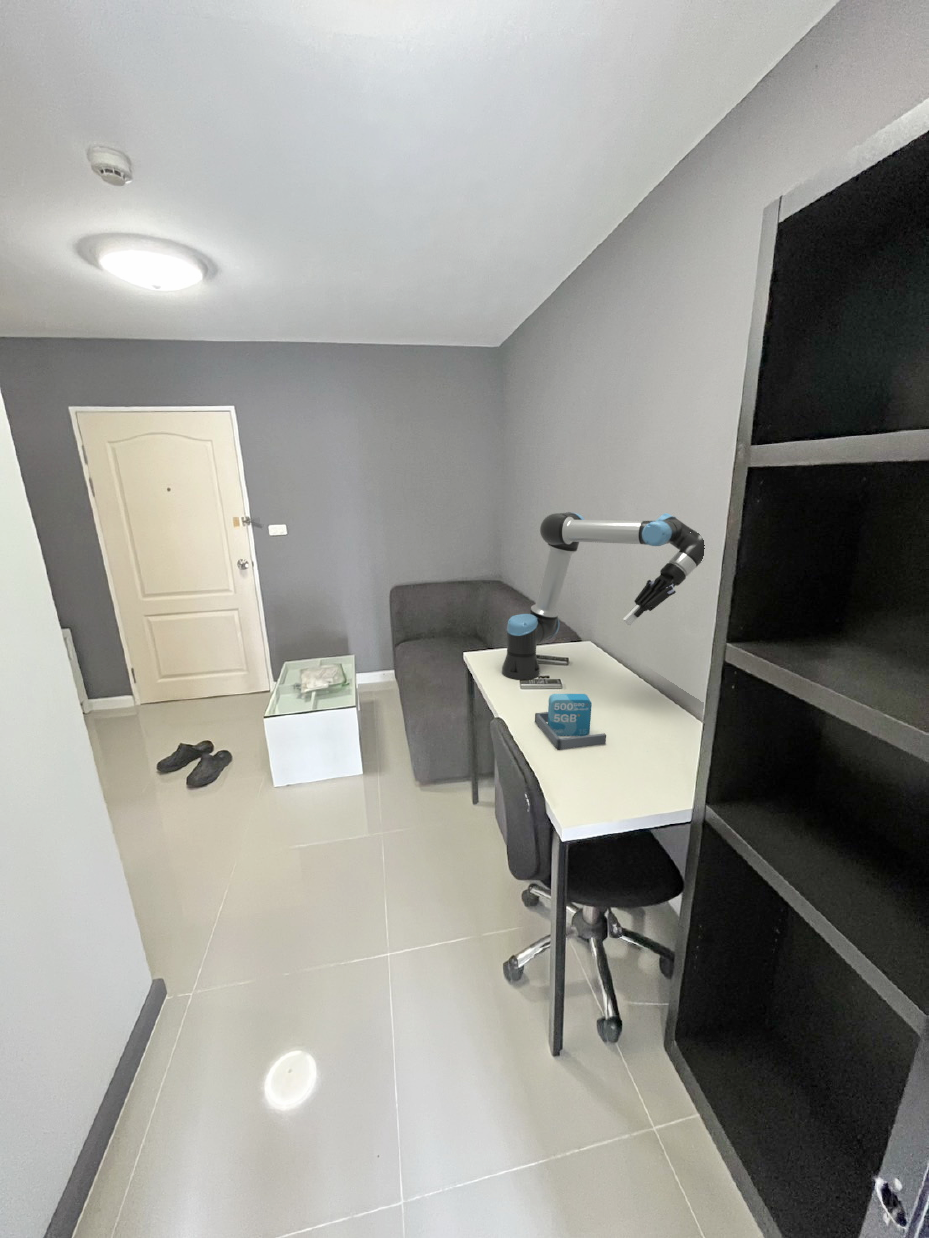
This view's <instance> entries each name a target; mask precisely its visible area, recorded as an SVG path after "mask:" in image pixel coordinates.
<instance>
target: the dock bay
mask: <svg viewBox="0 0 929 1238" xmlns="http://www.w3.org/2000/svg"><path fill="white" fill-rule="evenodd" d="M534 723H535V724H536V726H537V727H538V728H539V729H540V730H541V732H542V733H543V734H544V735H545V737H546V738H547V739H548V740H549V742H550V743H551V744H552V745H553V747H555V749H556V750H557V751H560V750H561V751H563V750H568V749H577V748H586V747H593V746H604V745H606V744H607V743H606V742H607V734H606V733H595V734H588V735H586V736H568V737H562V738H560V736H557V735H556V733H555V732H554V731H553V730H552V729H551V727H550V726H549V725H548V711H543V712H535V713H534Z"/></svg>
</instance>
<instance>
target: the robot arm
mask: <svg viewBox="0 0 929 1238" xmlns="http://www.w3.org/2000/svg"><path fill="white" fill-rule="evenodd" d="M540 523H541V524H540V529H539V531H540V533H539V534H540V535H541V538H542V540H543V541H544V542H545V543H547V546H548V547H549V553H548V556H547V560H546V564H545V567H544V571H543V574H542V575H543V576H542V579H541V584H540V587H539V591H538V594H537V598H536V601H535V604H533V605H531V607H530V609H529V613H521V614H516V615H512V616H511V617H510V618H509V619H508V621H507V626H506V631H507V634H506V636H507V639H506V655H505V658H504V662H503V665H502V667H501V674H502V675H503V676H505V677H507V678H510V679H513V680H523V679H526V680H532V679H535V678H538V677H539V676H540V674H541V673H540V672H541V669H540V665H539V662H538V658H537V644H540V643H542V642H545V641H548V640H550V639H551V638H553V637H554V636H556V634H557V633H558V631H559V629H560V620H559V612H558V610H557V608H558V604H559V600H560V597H561V593H562V590H563V586H564V583H565V578H566V576H567V573H568V568H569V565H570V562H571V558H572V555H573V554H575V553H576V552H577V551H578V548H579V544H580V543H599V544H600V543H602V544H623V545H624V544H626V545H629V544H630V545H645V546H646V545H647V546H651V547H661V546H664V545H666V544H670V545H672V546H673V547H674V548H676V549H677V550H679V551H677V553H676V554H675V555H674V556H672V557H671V559H669V561H668V562H667V563H666V564H665V565H664V566H663V567H662V568H661V569H660V571H659V572H660V573H659V576H657V577H656V578H655V579H654V580H651V579H648V580H646V583H645V585H644V587H643V588H642V590H641V591H640V592H639V594H638V595H637V597H636V598H635V600H633V601H634V603H635V606H634V607H633V608H632V609H631V610H630V611H629V612H628V613H627V615H624V617H623V618H622V619H623V621H624V622H625V623H626V624H627V625H629V626H631V625H633V623H634V622H635V621H636V620H637V619H638V618H639V617H641V615H642V614H643V613H645V612H647V611H649V612H652V611H653V610H654V609H655V608H656V607H658V606H659V605H661V604H662V603H663V602H664V601H666V600H667V599H668V598H669V597H671V596H673V595H675V594H676V593H677V591H676V590H675V587H676V586H679V585H681V584H682V583H683V582H684V581H685V580H686V577H689V576H690V574H691V573H693V571H694V570H695V569H696V568H697V567H698V566H699V565H700V564H701V563H702V562H703V561H702V559H703V556H704V549H705V548H704V546H705V545H704V540H703V538H702V536H701V535H700V534H699V533H697V531H696V530H694V529H693V528H691V527H690V526H688V525H686V524H685V523H684V522H682V521H681V520H679V519H678V518H677V517H676V516H674V515H671V514H670V513H668V512H667V513H666V512H665V513H663V514H661V515H660V517H658V518H657V520H625V519H624V520H617V519H615V520H614V519H611V520H610V519H609V520H608V519H585V518H584V516H582V515H581V514H579V513H578V512H577V513H576V512H570V511H567V512H559V513H551V514H549V515H547V516H546V517H545V518H544V519H543V520H542V522H540ZM690 532H691V533H690ZM701 561H702V562H701Z"/></svg>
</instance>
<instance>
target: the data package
mask: <svg viewBox="0 0 929 1238" xmlns="http://www.w3.org/2000/svg"><path fill="white" fill-rule="evenodd" d="M547 706H548V708H547V712H548V722H547V724H548V725H549V726H550V727H551V729H552V730H553V731H554V732H555V733H556V735H557V736H558V737H577V736H586V735H590V734H589V733H590V732H591V718H592V701H591V699H590V698H589V696H588V694H585V693H552V694H550V695H549V697H548V705H547Z"/></svg>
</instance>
